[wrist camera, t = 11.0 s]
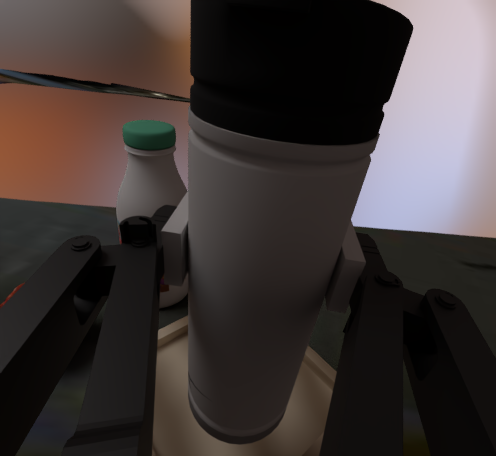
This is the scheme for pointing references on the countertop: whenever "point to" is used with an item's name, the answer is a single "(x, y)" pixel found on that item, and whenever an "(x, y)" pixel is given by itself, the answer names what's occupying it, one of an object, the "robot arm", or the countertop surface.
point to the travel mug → (274, 187)
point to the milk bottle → (151, 183)
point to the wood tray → (218, 452)
